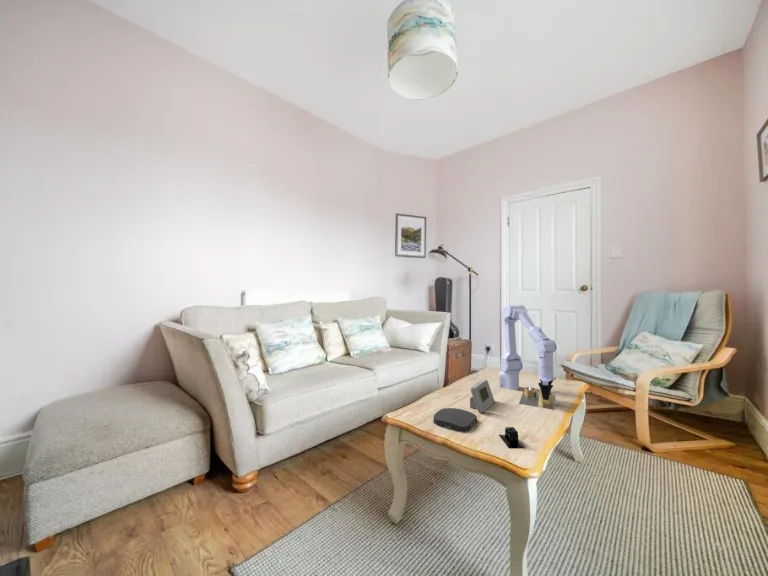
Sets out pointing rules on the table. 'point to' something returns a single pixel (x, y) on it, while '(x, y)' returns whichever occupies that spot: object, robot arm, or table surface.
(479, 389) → the digital clock
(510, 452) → the table surface
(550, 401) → the brass octagonal sleeve
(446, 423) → the media streaming box
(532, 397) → the plate
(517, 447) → the block on black plate
